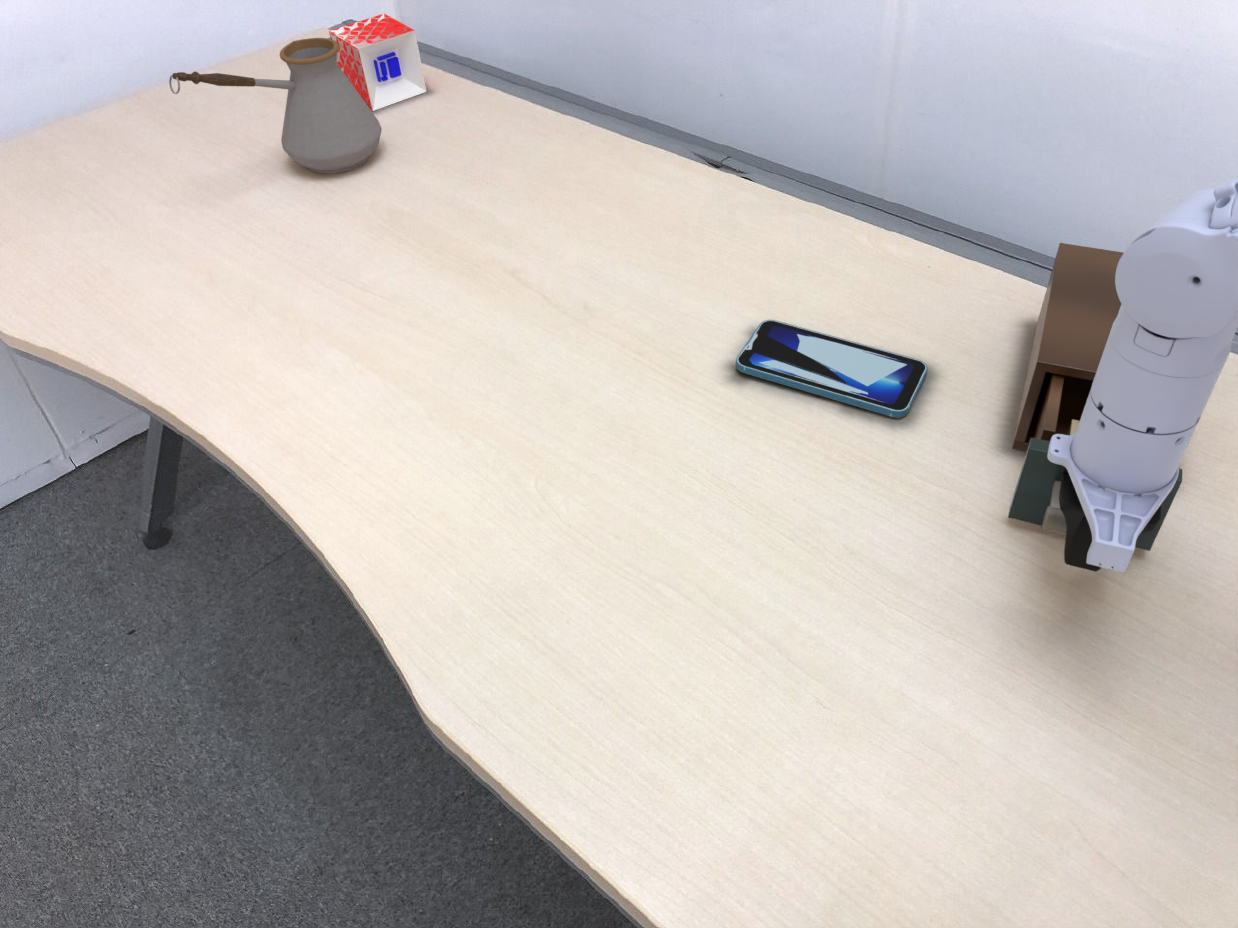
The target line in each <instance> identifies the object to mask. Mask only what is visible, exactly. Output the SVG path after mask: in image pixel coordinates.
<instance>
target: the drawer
mask: <svg viewBox="0 0 1238 928" xmlns="http://www.w3.org/2000/svg"><path fill="white" fill-rule="evenodd" d="M1092 383H1093V381H1092V380H1087V379H1081V378H1076V377H1071V376H1066V375H1060V374H1055V373H1050V372H1047V373H1046V376H1045V380H1044V383H1043V387H1042V393H1041V398H1040V404H1039V409H1038V415H1037V420H1036V426H1035V431H1034V437H1033V438H1031V439H1030V442H1029V446H1028V449H1027V451H1025V456H1024V459H1023V463H1022V465H1021V469H1020V472H1019V476H1018V478H1017V482H1016V486H1015V488H1014V491H1013V496H1012V498H1011V502H1010V505H1009V508H1008V509H1009V510H1008V515H1007V518H1008V519H1012V520H1017V521H1020V522H1024V523H1025V522H1026V523H1030V524H1034V525H1037V526H1041V528H1042V530H1043V531H1048V532H1051V533H1056V534H1058V535H1059V534H1060V535H1064V536H1066V531H1067V528H1066V520H1065V517H1064V515H1063V513H1062V511H1061V509H1060V503H1059V492H1060V485H1061V479H1062V471H1063V465H1059V464H1055V463H1052V462H1051V461H1049V460H1048V457H1047V455H1048V449H1049V443H1050V440H1051V437H1052V436H1053V435H1055V434H1063V435H1067V433H1068V430H1069V427H1070V424H1071V421H1072V420H1078V421H1080V419H1081V416H1082V413H1083V410H1084V407H1085V405H1086V401H1087V398H1088V395H1089V392H1090V390H1091V387H1092ZM1182 483H1183V468H1179V475H1178V478H1177V480H1176V482H1175V485H1174V487H1173V488H1172V490H1171V491H1170V493H1169V494H1168V495H1167V497H1166V498H1165V500H1164V501H1163V502H1162V505H1161V518H1160V521H1159V523H1158V524H1157V526H1156V527H1155V528H1154V529H1153V530H1152V531H1149V532H1146V533H1143V534H1141V535H1139V536H1138V538H1137V540H1136V545H1135V549H1140V550H1143V551H1149V552H1150V551H1151V549H1152V548H1153V545H1154V543H1155V541H1156V539H1157V538H1158V535H1159V532H1160V530H1161V528H1162V526H1163V524H1164V521H1165V519H1166V517H1167V515H1168V513H1169V510H1170V508H1171V506H1172V504H1173V502H1174V501H1175V497H1176V496H1177V493H1178V491H1179V489H1180V487H1181V485H1182Z"/></svg>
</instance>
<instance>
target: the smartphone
mask: <svg viewBox="0 0 1238 928" xmlns="http://www.w3.org/2000/svg"><path fill="white" fill-rule="evenodd" d="M735 367H736V369H737V370H738V371H739V372H740V373H743V374H746V375H748V376H749V375H750V376H752V377H756V378H759V379H763V380H766V381H769V382H773V383H775V384H779V385H783V386H786V387H790V388H793V389H797V390H800V391H802V392H805V393H809V394H813V395H817V396H821V397H824V398H827V399H830V400H833V401H837V402H840V403H844V404H847V405H850V406H854V407H857V408H859V409H860V408H861V409H864V410H867V411H870V412H874V413H877V414H882V415H883V416H887V417H890V418H904V417H905V416H906V415H907V414H908V413H909V412H910V410H911V407H912V405H913V403H914V401H915V399H916V397H917V395H918V393H919V391H920V389H921V387H922V385H923V383H924V380H925V378H926V377H927V375H928V374H927V373H928V369H929V368H928V365H927V364H926V363H925V361H923V360H921V359H918V358H914V357H911V356H907V355H903V354H900V353H896V352H892V351H889V350H885V349H882V348H878V347H874V346H871V345H867V344H863V343H860V342H856V341H854V340H849V339H845V338H842V337H838V336H834V335H830V334H827V333H823V332H819V331H816V330H812V329H809V328H805V327H802V326H798V325H795V324H790V323H787V322H784V321H780V320H776V319H766V320H762V321H761V322H760V323H759V325H758V326H757V327H756V329H755V331H754V332H753V333H752V335H751V336H750V337H749V339H748V340H747V342H746V343H745V345H744V346H743V347H742V349H741V351H740V352H739V353H738V355H737V356H736V359H735Z"/></svg>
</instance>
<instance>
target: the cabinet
mask: <svg viewBox="0 0 1238 928" xmlns="http://www.w3.org/2000/svg"><path fill="white" fill-rule="evenodd" d="M1123 253H1124V251H1123V252H1122V251H1118V250H1117V251H1116V250H1110V249H1103V248H1096V247H1089V246H1083V245H1077V244H1071V243H1065V242H1064V243H1063V242H1060V243H1059V244H1058V247H1057V251H1056V255H1055V258H1054V262H1053V266H1052V269H1051V272H1050V275H1049V280H1048V283H1047V287H1046V290H1045V294H1044V297H1043V301H1042V305H1041V308H1040V312H1039V315H1038V319H1037V322H1036V325H1035V330H1034V335H1033V341H1032V345H1031V351H1030V355H1029V361H1028V365H1027V370H1026V375H1025V379H1024V380H1025V381H1024V384H1023V391H1022V394H1021V400H1020V406H1019V410H1018V416H1017V420H1016V425H1015V431H1014V436H1013V440H1012V446H1011V448H1012V449H1013V450H1019V451H1022V452H1027V449H1028V446H1029V442H1030V439H1031V438H1033V437H1034V431H1035V426H1036V420H1037V415H1038V409H1039V404H1040V398H1041V393H1042V387H1043V383H1044V380H1045V376H1046V373H1047V372H1050V373H1055V374H1060V375H1066V376H1071V377H1076V378H1081V379H1087V380H1092V381H1093V380H1094V377H1095V375H1096V372H1097V369H1098V366H1099V363H1100V360H1101V357H1102V354H1103V351H1104V348H1105V346H1106V343H1107V340H1108V337H1109V334H1110V331H1111V328H1112V325H1113V322H1114V321H1115V319H1116V318H1117V315H1118V313H1119V310H1120V307H1121V302H1120V300H1119V297H1118V294H1117V291H1116V285H1115V274H1116V269H1117V265H1118V262H1119V260H1120V258H1121V256H1122V255H1123Z"/></svg>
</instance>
